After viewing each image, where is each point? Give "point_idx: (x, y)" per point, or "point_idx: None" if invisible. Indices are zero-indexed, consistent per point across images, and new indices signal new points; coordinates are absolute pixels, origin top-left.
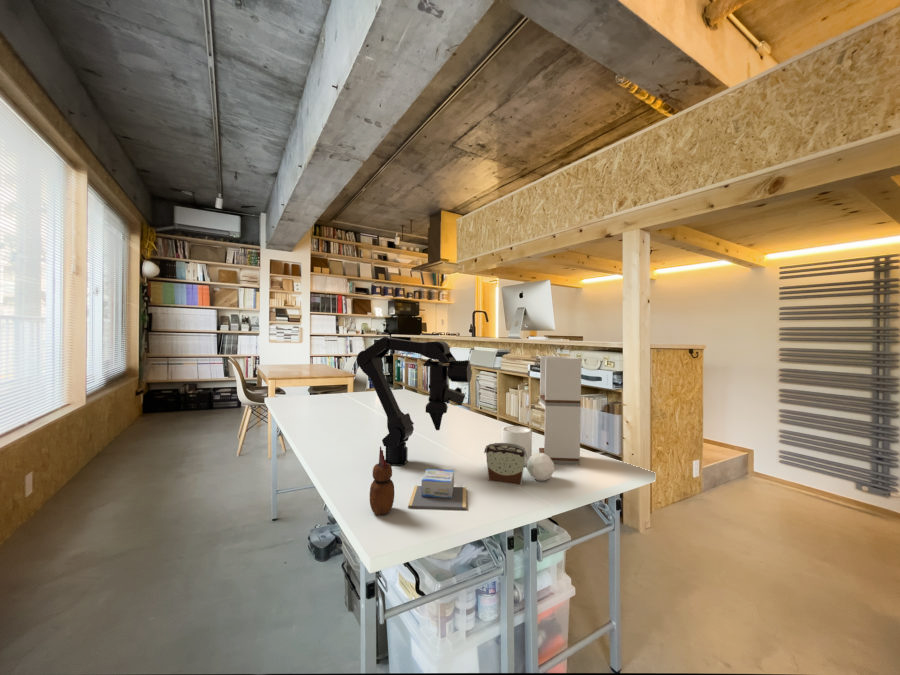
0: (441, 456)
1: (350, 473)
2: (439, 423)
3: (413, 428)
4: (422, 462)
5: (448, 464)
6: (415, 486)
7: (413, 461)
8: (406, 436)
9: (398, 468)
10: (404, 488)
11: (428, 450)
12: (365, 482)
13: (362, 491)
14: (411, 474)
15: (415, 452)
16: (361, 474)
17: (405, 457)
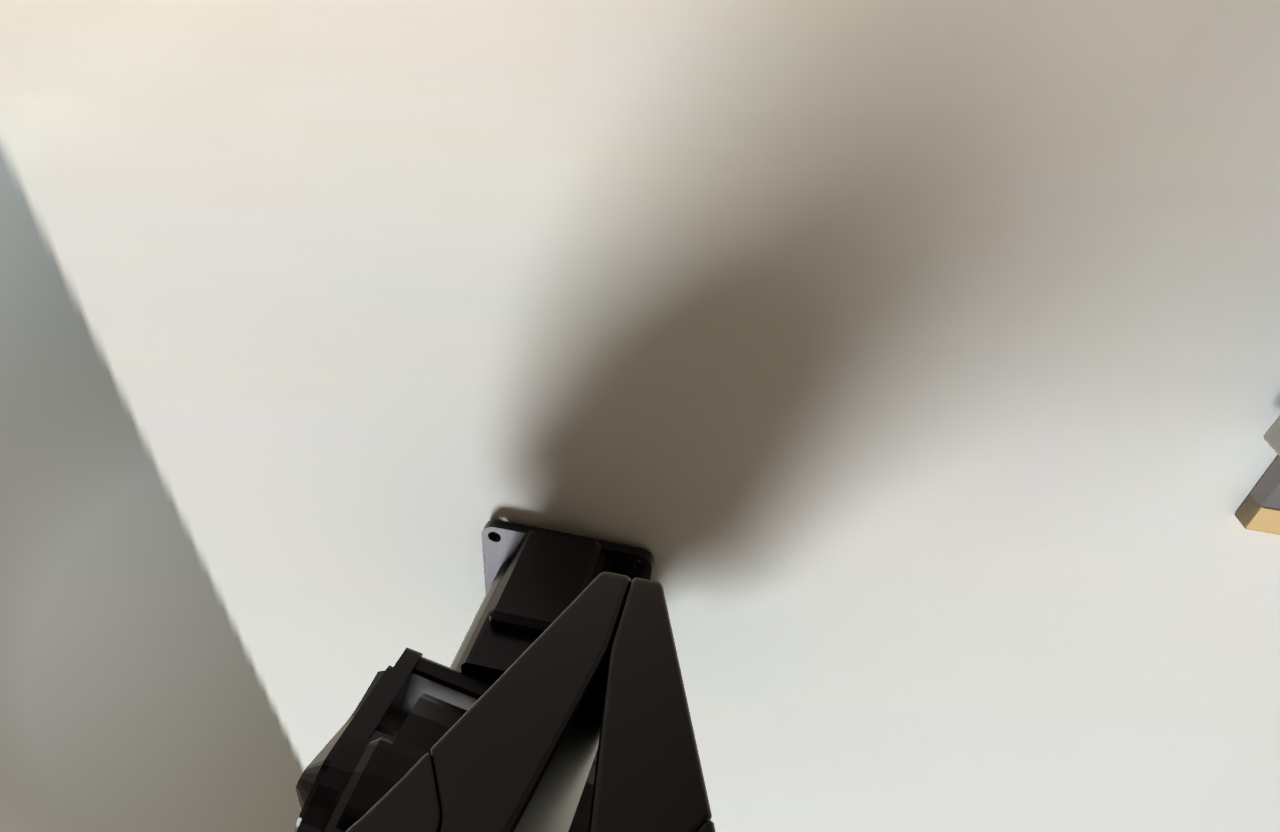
0: (338, 197)
1: (781, 803)
2: (688, 749)
3: (369, 762)
4: (553, 402)
5: (601, 130)
6: (1274, 526)
7: (532, 471)
8: (585, 787)
9: (709, 583)
10: (1200, 582)
11: (193, 322)
12: (966, 761)
13: (1131, 784)
14: (870, 510)
15: (290, 438)
16: (808, 766)
17: (593, 576)
